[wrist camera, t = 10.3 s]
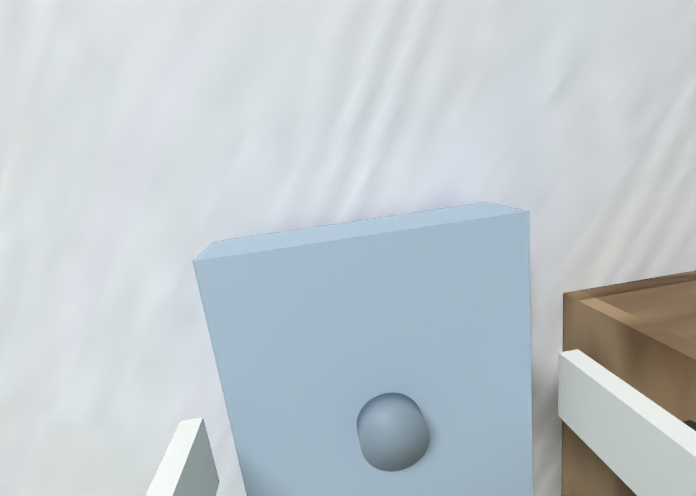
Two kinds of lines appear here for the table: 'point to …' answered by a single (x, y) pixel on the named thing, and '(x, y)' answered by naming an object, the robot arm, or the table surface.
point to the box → (631, 359)
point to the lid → (378, 354)
